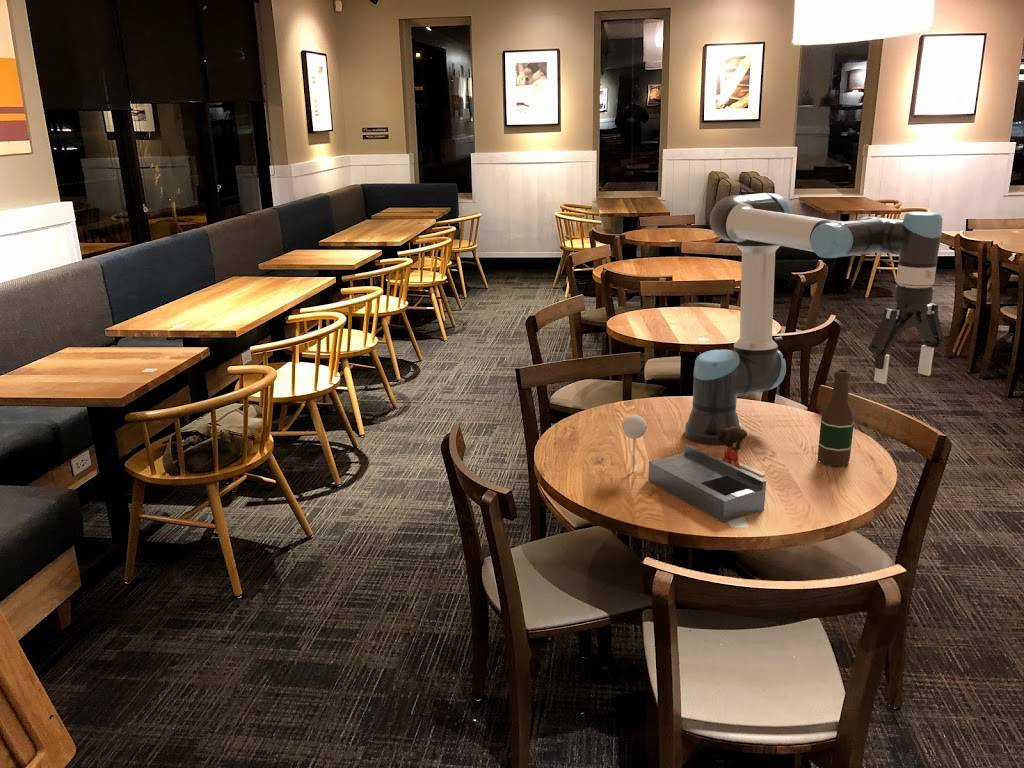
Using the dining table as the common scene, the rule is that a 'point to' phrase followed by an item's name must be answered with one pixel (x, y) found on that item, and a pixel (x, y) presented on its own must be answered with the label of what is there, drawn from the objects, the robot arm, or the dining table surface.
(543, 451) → the dining table surface
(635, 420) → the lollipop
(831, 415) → the beer bottle
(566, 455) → the dining table surface
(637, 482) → the dining table surface
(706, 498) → the grey box with compartment
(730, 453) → the figurine
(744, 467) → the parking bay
